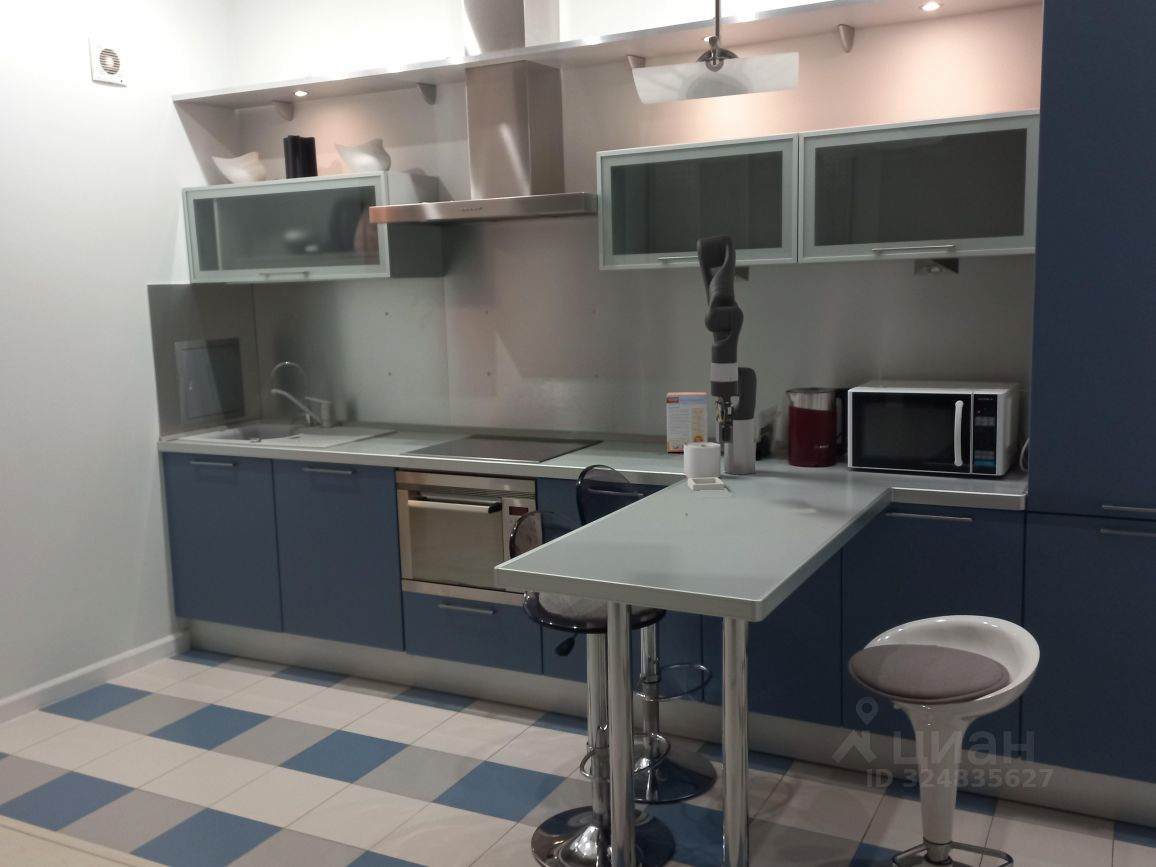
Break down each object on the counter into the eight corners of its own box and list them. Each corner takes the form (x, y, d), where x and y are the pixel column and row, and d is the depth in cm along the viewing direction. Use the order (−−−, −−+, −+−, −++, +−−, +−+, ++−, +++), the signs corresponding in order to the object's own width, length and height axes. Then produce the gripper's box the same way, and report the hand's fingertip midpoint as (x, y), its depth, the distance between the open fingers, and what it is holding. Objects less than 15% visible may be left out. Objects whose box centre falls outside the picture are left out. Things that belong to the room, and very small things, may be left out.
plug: (729, 440, 292) (729, 417, 291) (733, 442, 288) (733, 419, 287) (716, 440, 291) (715, 417, 290) (718, 443, 288) (718, 420, 286)
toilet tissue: (718, 481, 314) (718, 448, 313) (679, 479, 317) (679, 447, 315) (722, 473, 324) (722, 442, 323) (684, 472, 327) (684, 441, 326)
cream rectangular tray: (722, 486, 306) (722, 476, 306) (735, 500, 288) (735, 489, 288) (685, 487, 306) (685, 478, 305) (696, 501, 288) (696, 491, 287)
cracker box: (707, 450, 364) (707, 391, 360) (707, 453, 358) (706, 393, 355) (668, 450, 366) (667, 391, 363) (666, 453, 361) (666, 393, 357)
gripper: (743, 381, 280) (743, 443, 283) (732, 375, 294) (732, 434, 297) (716, 382, 279) (716, 444, 282) (705, 376, 293) (706, 435, 296)
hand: (724, 439), depth 290 cm, fingers closed on plug, 4 cm apart
